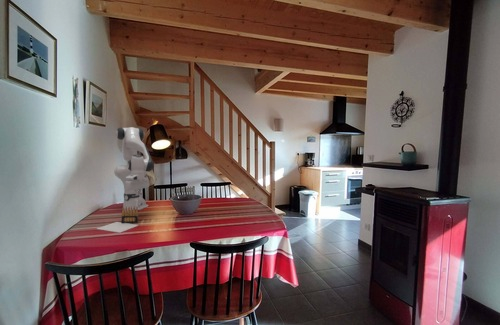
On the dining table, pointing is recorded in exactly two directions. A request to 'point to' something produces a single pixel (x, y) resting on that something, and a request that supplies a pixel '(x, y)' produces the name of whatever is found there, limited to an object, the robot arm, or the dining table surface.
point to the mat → (117, 227)
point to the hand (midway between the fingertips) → (138, 195)
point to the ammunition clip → (129, 215)
